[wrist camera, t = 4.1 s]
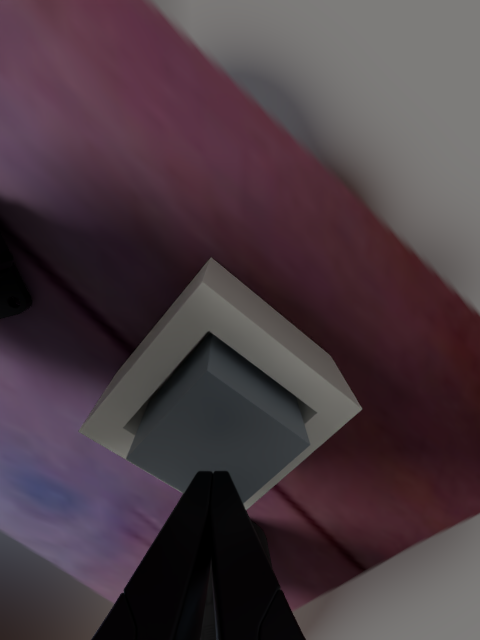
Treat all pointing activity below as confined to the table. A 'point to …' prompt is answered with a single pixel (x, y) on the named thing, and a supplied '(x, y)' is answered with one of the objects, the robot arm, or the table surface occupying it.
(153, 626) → the robot arm
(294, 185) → the table surface
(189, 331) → the switch box
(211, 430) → the button
